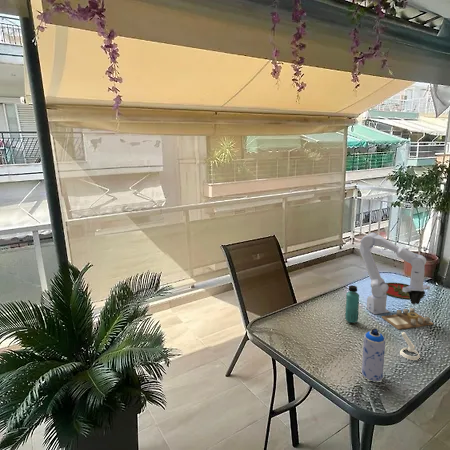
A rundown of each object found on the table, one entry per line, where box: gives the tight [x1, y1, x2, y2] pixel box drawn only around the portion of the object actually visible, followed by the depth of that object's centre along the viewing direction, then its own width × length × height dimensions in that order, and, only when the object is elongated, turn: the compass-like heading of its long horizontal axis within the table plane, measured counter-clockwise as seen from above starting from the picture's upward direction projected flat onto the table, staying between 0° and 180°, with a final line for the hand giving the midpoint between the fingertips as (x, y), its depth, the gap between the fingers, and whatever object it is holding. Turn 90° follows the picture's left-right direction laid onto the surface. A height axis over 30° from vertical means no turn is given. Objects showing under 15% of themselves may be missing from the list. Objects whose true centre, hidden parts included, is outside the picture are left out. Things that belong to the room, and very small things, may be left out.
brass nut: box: [407, 311, 420, 321], centre depth 160 cm, size 5×4×2 cm
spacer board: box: [381, 307, 434, 330], centre depth 160 cm, size 20×13×3 cm, turn 101°
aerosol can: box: [361, 328, 386, 381], centre depth 119 cm, size 8×8×20 cm
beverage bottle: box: [344, 285, 360, 323], centre depth 159 cm, size 6×7×20 cm
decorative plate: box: [385, 282, 425, 301], centre depth 196 cm, size 25×1×25 cm
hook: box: [399, 331, 421, 361], centre depth 133 cm, size 8×12×7 cm
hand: (414, 303), depth 159 cm, fingers closed
